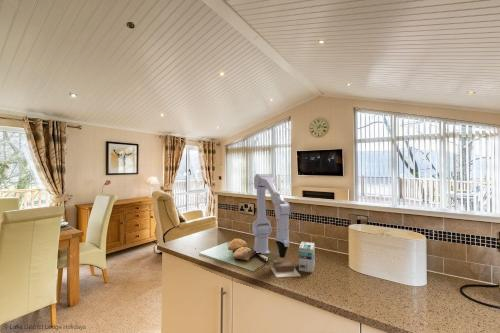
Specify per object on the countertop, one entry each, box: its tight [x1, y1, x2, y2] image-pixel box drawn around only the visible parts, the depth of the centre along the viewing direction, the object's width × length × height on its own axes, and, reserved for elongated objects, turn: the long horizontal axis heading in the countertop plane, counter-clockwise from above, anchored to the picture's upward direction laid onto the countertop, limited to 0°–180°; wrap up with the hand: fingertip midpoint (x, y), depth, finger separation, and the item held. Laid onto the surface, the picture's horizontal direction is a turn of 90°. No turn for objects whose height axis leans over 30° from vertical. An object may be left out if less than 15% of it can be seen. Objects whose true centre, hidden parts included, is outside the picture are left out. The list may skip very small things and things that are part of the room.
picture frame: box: [272, 259, 295, 272], centre depth 113 cm, size 3×8×7 cm
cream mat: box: [270, 266, 301, 278], centre depth 110 cm, size 10×11×1 cm
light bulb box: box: [298, 241, 316, 274], centre depth 115 cm, size 11×7×11 cm, turn 161°
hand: (282, 257), depth 115 cm, fingers closed
